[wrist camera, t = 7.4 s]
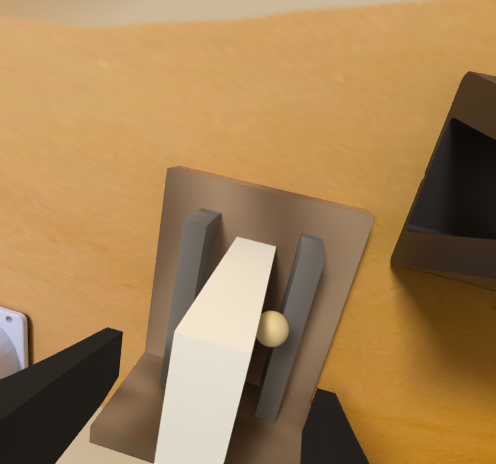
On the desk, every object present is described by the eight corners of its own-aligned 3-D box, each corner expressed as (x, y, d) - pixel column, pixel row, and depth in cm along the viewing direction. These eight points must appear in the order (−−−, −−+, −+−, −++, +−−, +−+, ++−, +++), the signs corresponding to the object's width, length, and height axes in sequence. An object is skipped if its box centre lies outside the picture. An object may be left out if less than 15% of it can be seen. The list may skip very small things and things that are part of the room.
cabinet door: (213, 350, 17) (146, 512, 10) (236, 236, 15) (174, 331, 8) (266, 365, 17) (239, 544, 10) (298, 252, 15) (296, 365, 7)
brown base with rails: (154, 349, 20) (89, 442, 14) (178, 166, 16) (105, 181, 10) (305, 394, 19) (307, 514, 13) (368, 210, 15) (413, 257, 9)
